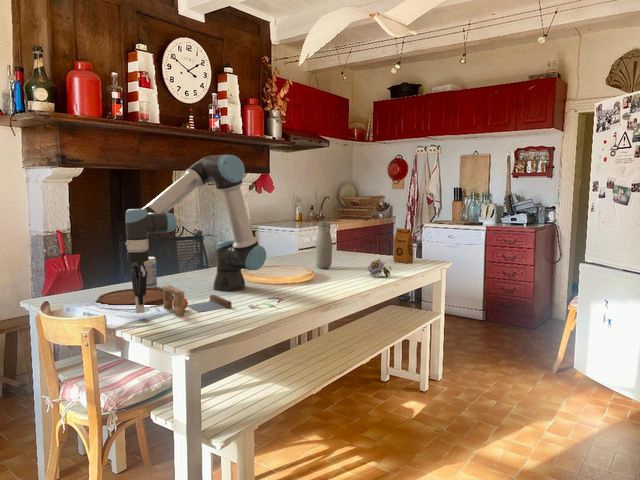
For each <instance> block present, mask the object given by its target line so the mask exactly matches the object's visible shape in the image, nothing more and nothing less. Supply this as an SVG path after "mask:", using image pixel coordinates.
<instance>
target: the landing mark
mask: <svg viewBox="0 0 640 480" xmlns="http://www.w3.org/2000/svg"><path fill="white" fill-rule="evenodd" d="M186 308H189V309H192V310H193V311H195V312H197V313H203V312H211V311H215V310H221V309H226V308H225V307H223V306H221V305H219V304H216V303H214V302H212V301H210V300H209V301H205V302H198V303H191V304H188V305H187V307H186Z"/></svg>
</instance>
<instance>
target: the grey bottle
mask: <svg viewBox="0 0 640 480" xmlns="http://www.w3.org/2000/svg"><path fill="white" fill-rule="evenodd" d="M317 229H318V233H317V236H316V240H315V265H316V267H317V268H319V269H321V270H325V269H326V270H327V269H329V268H330V267H331V266H332V261H333V239H332V235H331V223H330V222H328V221H320V222H318V226H317Z"/></svg>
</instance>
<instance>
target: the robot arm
mask: <svg viewBox="0 0 640 480" xmlns="http://www.w3.org/2000/svg"><path fill="white" fill-rule="evenodd" d="M245 169H246V168H245V165H244V162H243V161H242V160H241V158H240V157H238V156H236V155H233V154H218V155H217V154H216V155H208V156H205V157H204V156H203V157H202V158H201V159H199V160H198V161H196V162H195V163H193V164H192V165H190V166H189V167H188V168H187V169H186V170H185V171H184V173H185V174H183V176H181V177H180V178H179V179H177V180H176V181H175V182H173V183H172V184H171V185H169V186H168V187H167V188H165V190H164V191H162V192H161V193H160V194H159V195H157V196H156V197H155V198H153V199H152V200H151V201H150V202H148V203H147V204H146V205H145V206H143V207H142V208H129V209H127V210H126V211H125V218H124V219H125V220H124V222H125V235H126V241H125V243H124V245H125V246H126V250H127V252H126V257H127V258H126V260H127V262H129V263H132V266H130V267H129V269H130V270H129V271H130V275H131V284H132V286H131V287H132V289H133V293H135V301H136V309H135V313H136V314H142V313H145V308H144V295H146V282H147V273H148V272H147V271H145V266H144V262H145V261H148V260H149V257H150V255H149V254H150V253H149V251H148V250H149V234H161V233H165V234H167V233H170V232H173V231H175V229H176V228H177V218H176V216H175V215H174V213H172V212H169V211H170V210H172V209H173V208H175V206H177V205H178V204H179V203H180V202H181V201H182V200H184V199H185V198H186V197H187V196H189V195H190V194H191V193H192V192H194V190H196V189H199V188H202V187H203V186H204V185H206V184H209V183H214V184H215V187H216V190H217V191H219V192H220V193H221V196H222V200H223V203H224V207H225V210H226V214H227V217H228V221H229V225H230V229H231V231H232V236H233V240H225V241H224V240H223V241H218V242H217V243H216V249H215V253H216V275H215V278H214V281H213V283H212V284H213V289H214V290H216V291H219V292H220V291H223V292H232V291H240V290H242V289H246V282H245V279H244V278H245V277H244V276H243V273H242V270H243V269H244V270H248V271H258V270H260V269H261V268H262V267H263V266H264V264H265V262H266V260H267V250H266V249H265V247H263V246H262V245H260V244H259V241H258V238H257V237H255V236H254V234H253V232H252V227H251V224H250V219H249V216H248V211H247V207H246V204H245V201H244V197H243V194H242V193H243V192H242V189H241V186H242V185H243V179H244V177H245V175H244V174H245V173H246V171H245Z"/></svg>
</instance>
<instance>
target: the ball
mask: <svg viewBox="0 0 640 480" xmlns="http://www.w3.org/2000/svg"><path fill="white" fill-rule="evenodd" d="M172 302H173V308H174V309H175V299H173V301H172ZM184 302H185V310H186V309H187V308H188V307H187V305H189V304H188V300H187V299H186V298H185V297H184Z"/></svg>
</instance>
